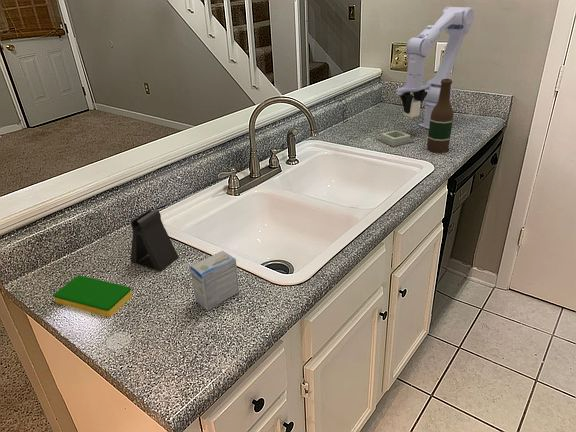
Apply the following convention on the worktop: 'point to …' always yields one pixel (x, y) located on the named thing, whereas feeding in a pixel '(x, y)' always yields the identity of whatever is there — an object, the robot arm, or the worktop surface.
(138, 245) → the phone stand
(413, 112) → the plug
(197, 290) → the medicine box
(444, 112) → the beer bottle
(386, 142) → the socket block
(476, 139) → the worktop surface
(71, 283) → the dish sponge
